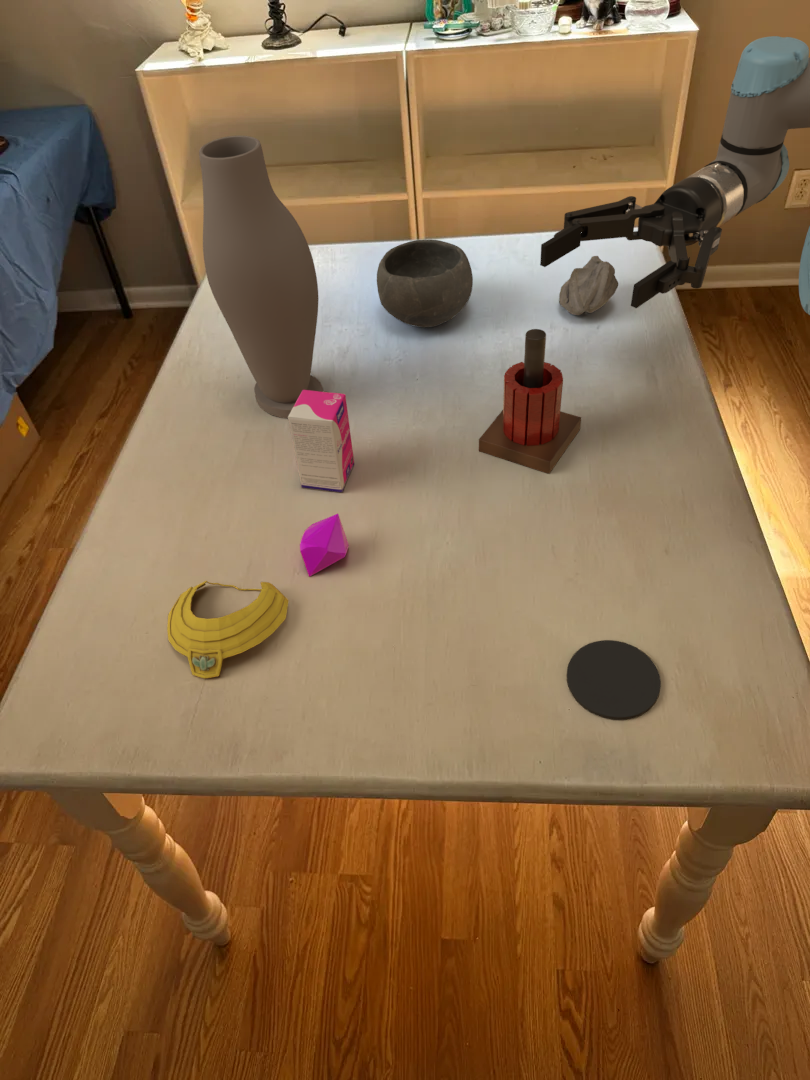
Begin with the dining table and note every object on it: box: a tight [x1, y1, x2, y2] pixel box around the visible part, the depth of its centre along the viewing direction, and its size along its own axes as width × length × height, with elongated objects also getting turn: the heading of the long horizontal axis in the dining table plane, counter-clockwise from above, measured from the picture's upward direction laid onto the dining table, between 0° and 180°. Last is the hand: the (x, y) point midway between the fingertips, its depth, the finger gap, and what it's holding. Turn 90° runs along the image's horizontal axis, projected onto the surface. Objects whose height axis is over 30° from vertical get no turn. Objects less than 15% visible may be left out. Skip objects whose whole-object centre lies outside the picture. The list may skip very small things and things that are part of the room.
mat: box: [566, 639, 662, 721], centre depth 77 cm, size 9×9×1 cm
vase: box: [198, 135, 324, 419], centre depth 101 cm, size 13×13×35 cm
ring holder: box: [478, 328, 582, 475], centre depth 98 cm, size 10×10×16 cm
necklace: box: [166, 580, 290, 679], centre depth 85 cm, size 13×13×4 cm
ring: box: [502, 361, 564, 446], centre depth 99 cm, size 7×7×8 cm
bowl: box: [376, 239, 474, 328], centre depth 123 cm, size 15×15×10 cm
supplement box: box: [287, 390, 355, 493], centre depth 97 cm, size 6×6×12 cm
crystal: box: [299, 513, 350, 578], centre depth 90 cm, size 5×5×5 cm
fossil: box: [558, 255, 619, 316], centre depth 122 cm, size 11×9×8 cm
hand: (586, 275), depth 91 cm, fingers open, 13 cm apart
